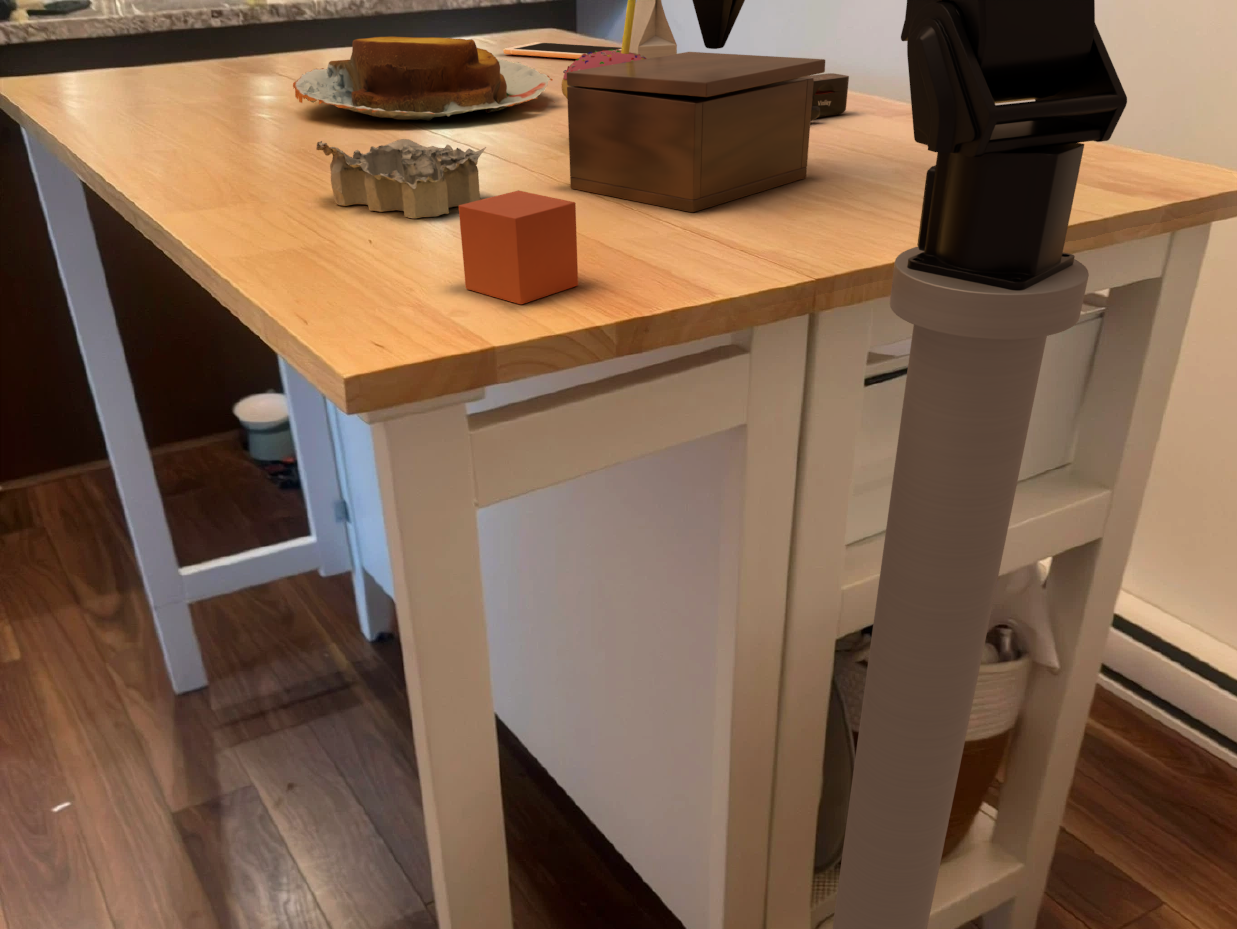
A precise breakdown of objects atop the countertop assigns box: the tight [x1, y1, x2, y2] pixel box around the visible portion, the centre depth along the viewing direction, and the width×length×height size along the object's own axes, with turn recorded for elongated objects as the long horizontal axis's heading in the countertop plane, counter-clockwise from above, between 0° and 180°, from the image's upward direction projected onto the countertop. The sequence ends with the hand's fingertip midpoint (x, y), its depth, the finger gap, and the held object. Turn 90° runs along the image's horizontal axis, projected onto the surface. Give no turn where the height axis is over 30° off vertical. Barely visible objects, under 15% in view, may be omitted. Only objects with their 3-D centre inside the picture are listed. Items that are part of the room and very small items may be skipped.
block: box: [458, 190, 579, 305], centre depth 63 cm, size 4×4×4 cm
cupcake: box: [561, 0, 647, 99], centre depth 95 cm, size 9×8×12 cm
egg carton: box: [316, 138, 487, 219], centre depth 80 cm, size 11×8×4 cm
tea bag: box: [621, 0, 678, 59], centre depth 108 cm, size 4×7×10 cm, turn 12°
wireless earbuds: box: [805, 72, 850, 121], centre depth 106 cm, size 5×7×3 cm, turn 123°
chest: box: [566, 77, 814, 213], centre depth 83 cm, size 12×14×7 cm
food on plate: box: [292, 36, 555, 122], centre depth 113 cm, size 25×25×7 cm
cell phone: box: [503, 41, 622, 60], centre depth 145 cm, size 8×16×1 cm, turn 59°
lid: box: [567, 51, 826, 97], centre depth 81 cm, size 12×14×1 cm
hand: (714, 48), depth 79 cm, fingers closed
